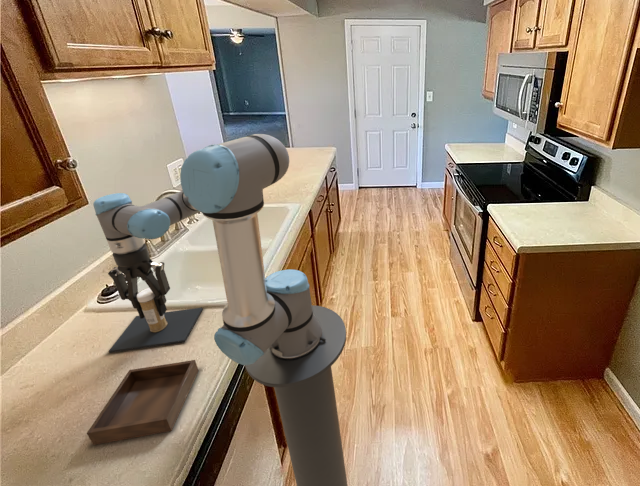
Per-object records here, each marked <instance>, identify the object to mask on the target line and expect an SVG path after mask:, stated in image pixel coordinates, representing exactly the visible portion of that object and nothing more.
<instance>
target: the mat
mask: <svg viewBox="0 0 640 486" xmlns="http://www.w3.org/2000/svg"><path fill="white" fill-rule="evenodd" d="M203 310H204V308H203V307H196V308H195V307H193V308H187V309H179V310H172V311H171V310H170V311H166V312H165V313H164V317H165V319H166V321H167V326H166V327H165V328H164V329H163V330H161V331H159V332H151V331H150V327H149V325H148V323H147V321H146V318H145V317H144V318H142V319H140V316H139V315H136V316H135V317H134V318H133V320H132V321H131V322H130V323H129V324H128V326H127V327H126V328H125V330H123V332H122V334H121V335H120V336H119V337H118V338H117V339H116V341H115V342H114V344H113V345H112V346H111V347H110V348H109V349H108V352H109V353H108V354H112V353H119V352H126V351H133V350H140V349H146V348H154V347H161V346H168V345H175V344H181V343H186V341H187V339H188V337H189V336H190V334H191V332H192V331H193V329H194V327H195V325H196V323H197V321H198V319H199V317H200V315H201V314H202V312H203Z"/></svg>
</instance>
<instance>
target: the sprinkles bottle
mask: <svg viewBox="0 0 640 486" xmlns="http://www.w3.org/2000/svg"><path fill="white" fill-rule="evenodd" d="M154 298H155V295H154V293H153V292H152V290H151V289H150V288H149V287H147V288H145V289H142V290H140V291H138V294H137V299H138V301H139V303H140V305H141V307H142V311H143V313H144V316H145V318H146V321H147V323H148V325H149V327H150V331H151V332H159V331H161V330H163V329H164V328H165V327H166V326H167V321H166V319H165V317H164V315H163V316H160V315H159V312H158V310H157V307H156V304H155V301H154Z"/></svg>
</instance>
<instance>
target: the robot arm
mask: <svg viewBox="0 0 640 486" xmlns="http://www.w3.org/2000/svg"><path fill="white" fill-rule="evenodd" d="M289 166H290V155H289V151H288V150H287V147H286V146H285V145H284V143H283V142H282V141H280V140H279V139H278V138H276V137H274V136H272V135H271V134H270V135H269V134H265V133H254V134H249V135H247V136H242V137H240V138H236V139H231V140H229V141H224V142H221V143H217V144H215V143H214V144H213V143H212V144H210V145H207V146H205V147H203V148H201V149H197V150H196V151H193V152H191V153H190V154H189V155H188V156H187V157H186V159H184V160H183V163H182V165H181V168H180V172H179V174H180V176H179V179H180V187H181V189H182V190H180V191H179V192H176V193H173V194H170V195H169V196H165V197H162V198H160V199H157V200H155V201H152V202H150V203H146V204H145V205H142V206H141V205H140V206H139V205H134V204H133V200H132V199H131V198H130V195H128V194H127V193H124V192H115V193H111V194H105V195H103V196H100V197H98V198H96V199H95V200H94V201H93V203H92V204H93V209H94V211H95V216H96V217H97V220H98V222H99V225H100V227H101V229H102V231H103V234H104V236H105V239H106V242H107V245H108V247H109V249H110V251H111V253H112V257H113V260H114V262H115V265H116V266H114V267H113V268H112V269H111V270H109V271H108V272H107V275H108V276H109V277H110V278H111V279H112V281H113V282H114V285H115V287H116V290H117V293H118V295H119V297H120V299H121V300H122V301H125V300H128V301H129V302H130V303H131V306H132V308H133V309H135V310H136V311H137V314H138V316H140V319H142V318H144V317H145V316H144V313H143V311H142V307H141V305H140V303H139V301H138V299H137V294H138V293H139V287H138V286H139V285H138V278H140V279H141V280H142V281H144V282H145V283H146V285H147V286H148V288H150V289H151V290H152V292H153V293H154V295H155V298H154V301H155V304H156V307H157V310H158V312H159V315H160V316H163V315H164V313H165V312H167V310H168V309H167V306H166V303H167V301H168V300H167V298H166V295H167V294H168V293H169V292H170V290H171V287H170V283H169V279H168V277H167V275H166V271H165V262H164V261H161V262H159V263H158V262H154V261H153V260H152V259H151V257H150V251H149V248H148V245H147V244H146V239H147V240H156V239H159V238H162V237H163V236H164V235H166V233H167V232H168V231H169V230H170V228H171V226H172V225H175V224H178V223H179V222H181V221H183V220H185V219H188V218H190V217H192V216H195V215H196V214H200V213H201V214H202V215H203V216H204V217H205V218H207V219H208V220H210V221H212V226H213V231H214V237H215V242H216V248H217V253H218V258H219V264H220V270H221V276H222V280H223V281H222V282H223V286H224V291H225V296H226V304H225V305H224V307H223V309H222V313H221V317H222V322H223V325H222V326H221V327H219V328H218V329H217V330H216V331H215V333H214V335H213V339H214V342H215V344H216V346H217V348H218V349H219V350H220V352H222V353H223V354H224V356H226V357H227V358H229V359H230V360H231V361H233V362H235V363H236V364H239V365H242V366H245V365H250V364H253V363H254V362H256V361H257V360H258V359H259V358H260V357H261V356H263V355H264V353H265V352H266V351H267V350H268V348H269V347H270V349H271V352H272V354H273V355H274V356H275V357H276V358H278V359H281V360H286V361H290V360H297V359H300V358H303V357H305V356H307V355H309V354H310V353H311V352H313V351H314V350H315V349H316V348H317V347H318V345H319V344H320V342H321V341H324V342H325V340H326V339H324V338H322V328H321V325H320V323H319V322H318V320H317V319H316V317H315V315H314V314H313V310H312V303H313V302H312V297H311V290H310V289H311V288H310V287H311V286H310V283H309V280H308V277H307V275H306V274H305V273H304V272H303V271H301V270H298V269H292V268H291V269H282V270H278V271H275V272H272V273H270V274H269V275H267V276H265V275H266V274H265V265H264V264H265V263H264V258H263V257H264V256H263V249H262V241H261V231H260V223H259V214H258V213H260V211H262V209H263V208H264V206H265V200H264V190H265V189H266V188H268V187H270V186H272V185H274V184H276V183H277V182H279V181H280V180H282V179H283V177H284V176H285V175H286V173H287V172H288V171H289V170H288V169H289ZM152 269H153V270H152ZM124 275H125V276H124Z"/></svg>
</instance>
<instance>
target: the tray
mask: <svg viewBox="0 0 640 486" xmlns="http://www.w3.org/2000/svg"><path fill="white" fill-rule="evenodd" d="M198 373H199V367H198V364H197V362H196V359H193V360H185V361H179V362H173V363H172V362H171V363H167V364H159V365H153V366H146V367H140V368H133V369H129V370H128V371H127V373H126V375H124V377H123V379H122V380H121V381H120V383H119V385H118V386H117V387H116V389H115V391H114V392H113V394H112V395H111V396H110V398H109V399H108V401H106V404H105V405H104V407H103V408H102V410H101V411H100V413H99V414H98V416H97V417H96V419H95V420H94V421H93V423H92V424H91V426H90V428H89V429H88V430H87V432H86V435H87V437H88V438H89V440H90V442H91V443H92V446H95V445H96V446H97V445H100V444H107V443H111V442H112V443H113V442H119V441H124V440H129V439H134V438H139V437H145V436H150V435H156V434H161V433H167V432H172V431H173V429H174V426H175V424H176V422H177V419H178V418H179V415H180V413H181V411H182V408H183V406H184V404H185V402H186V400H187V398H188V395H189V394H190V391H191V388H192V387H193V384H194V383H195V379H196V377H197V376H198Z"/></svg>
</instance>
